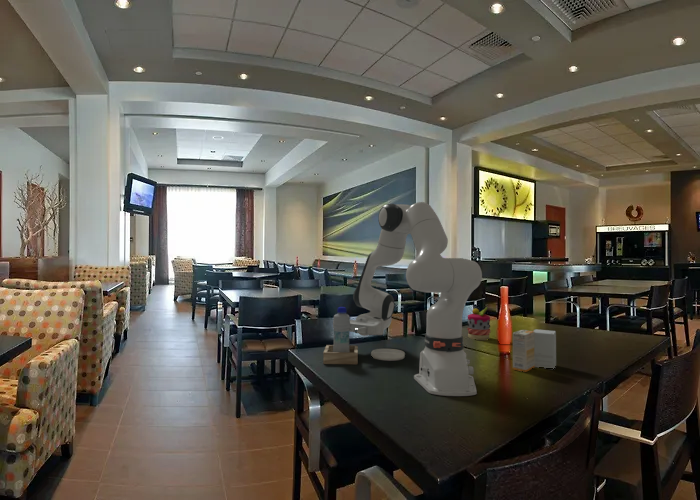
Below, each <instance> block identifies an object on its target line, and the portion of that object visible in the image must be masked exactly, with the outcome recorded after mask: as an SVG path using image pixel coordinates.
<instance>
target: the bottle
mask: <svg viewBox="0 0 700 500" xmlns="http://www.w3.org/2000/svg"><path fill="white" fill-rule="evenodd" d="M350 320H351V318H350V315H349V314H348V313H347V308H346V307H345V306H339V307H337V312H336V313H335V314H334V315H333V318H332V321H333V322H332V328H333V344H332V345H333V352H350V350H349V345H350V332H349V329H350Z"/></svg>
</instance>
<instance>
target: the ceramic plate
mask: <svg viewBox="0 0 700 500" xmlns="http://www.w3.org/2000/svg"><path fill="white" fill-rule="evenodd" d="M405 355H406V353H405V351H403V350H400V349H396V348H376V349H372V351H371V353H370V357H371V356H372V357H373V358H372V357H371V358H372V359H374V360H378V361H387V362H391V361H401V360H403V359H405V357H406V356H405Z"/></svg>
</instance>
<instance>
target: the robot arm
mask: <svg viewBox="0 0 700 500" xmlns="http://www.w3.org/2000/svg"><path fill="white" fill-rule="evenodd" d="M378 224H379V227H380V229H381V230H380V232H379V233H380V234H379V236H378V237H379V238H378V242H377V244H376V245H377V246H376V248H375V249H374V250H372V251H371V252H370V253H369V254H368V256H367V258H366V260H365V264H364V265H363V269H362V272H361V275H360V278H359V280H358V283H357V286H356V287H355V290H354V291H353V295H352V297H353V302H354V303H355V306H356V307H359V308H363V309H366V310H368V311H369V312H367V313H363V314H362V313H361V314H359V315H357V316H356V318H355V319H350V329H349V333H350V332H351V333H354V334H358V335H360V336H362V337H366V336H382V335H384V331H385V330H386V329H388V328H389V326H390V325H391V323H392V316H393V314H394V311H395V307H396V303H395V299H394V297H393V295H392V294H389V293H387V292H385V291H382V290H381V289H377V288H374V287H373V286H372V281H373V278H374V275H375V273H376V270H377V268H378V267H387V266H388V267H389V266H393V265H395V264H397V263H399V262H400V261H401V260H402V258H403V256H404V253H405V249H406V243H407V242H406V241H407V237H408V236H409V235H411V239H412V240H413V245H414V248H415V257H414V259H413V260H411V262H410V263H408V266H407V268H406V271H405V278H406V282H407V285H408V286H409V288H410V289H412V290H413V291H417V292H422V293H427V294H429V293H431V294H432V293H440V296H439V299H437V301H436V302H435V303H433V304H432V305H431V306H429V308H428V309H427V312H426V331H425V332H426V333H425V335H424V346H425V347H424V349H422V350H421V351H420V353H419V370H418V371H419V373H416V374H414V375H413V379H414V381H416V382H417V383H418V384H419V385H420V386H421V387H422V388H423V389H424V390H425V391H426V392H427V393H429V394H430V395H431V394H432V395H435V396H436V395H437V396H446V397H469V396H475V395H477V394H478V393H477V387H476V384H475V379H474V376H473V375H474V366H470V363H471V362H470V361H471V360H470V359H468V358H467V353H466V352H465V351H464V349H465V347H464V346H465V345H464V337H463V333H462V332H463V331H462V330H463V328H462V327H463V313H464V309H465V306H466V303H467V301H468V299H469V298H470V295H471V294H472V293H473V292H474V290H476V289H477V288H478V287H479V286H480V285H481V283H482V278H483V272H482V269H481V268H482V267H480V264H478V263H477V262H476V261H474V260H471V259H467V258H463V257H462V258H460V257H443V256H442V254H443V252H444V251H445V250H446V249H447V247H448V242H449V240H448V236H447V234H446V232H445V229H444V228H443V225H442V222H441V220H440V219H439V216H438V215H437V213H436V211H435V209H433V208H432V206H431V205H430V204H429V203H427V202H423V201H418V202H415V203H413V204H411V205H410V204H403V203H402V204H400V203H399V204H397V203H396V204H395V203H388V204H384V205H383V206H382V207H381V208H380V210H379V211H378ZM468 365H469V366H468Z"/></svg>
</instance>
